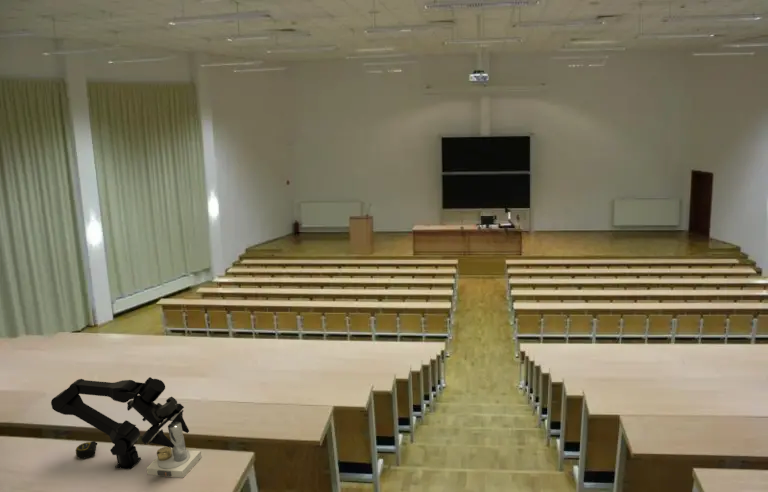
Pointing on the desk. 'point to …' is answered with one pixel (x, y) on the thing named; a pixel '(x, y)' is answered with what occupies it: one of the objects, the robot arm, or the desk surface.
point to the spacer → (177, 441)
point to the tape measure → (86, 449)
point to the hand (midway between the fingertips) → (181, 439)
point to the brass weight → (164, 453)
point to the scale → (174, 465)
